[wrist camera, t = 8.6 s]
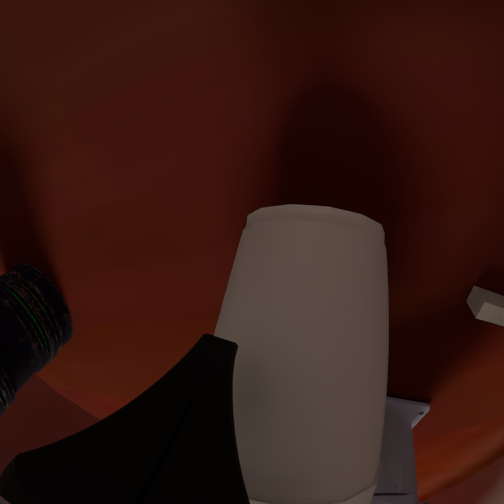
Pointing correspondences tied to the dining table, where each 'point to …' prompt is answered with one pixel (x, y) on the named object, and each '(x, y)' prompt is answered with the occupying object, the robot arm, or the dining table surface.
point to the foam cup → (309, 354)
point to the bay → (486, 305)
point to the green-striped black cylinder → (28, 327)
